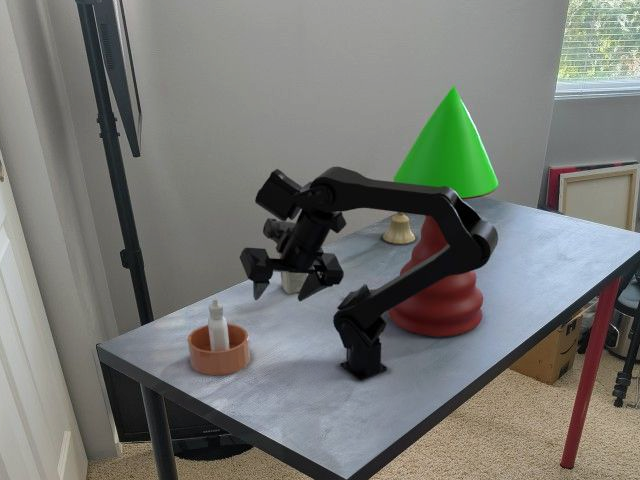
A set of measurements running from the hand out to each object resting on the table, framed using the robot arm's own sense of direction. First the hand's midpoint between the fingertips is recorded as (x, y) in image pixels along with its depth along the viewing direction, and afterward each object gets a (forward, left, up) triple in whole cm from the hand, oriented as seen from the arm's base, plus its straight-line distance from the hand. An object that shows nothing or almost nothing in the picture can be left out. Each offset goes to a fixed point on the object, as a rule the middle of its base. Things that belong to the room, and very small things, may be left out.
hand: (277, 299), depth 135 cm
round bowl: (+3, +11, -11) cm, 16 cm away
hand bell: (+29, -55, -11) cm, 63 cm away
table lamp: (-8, -34, -11) cm, 36 cm away
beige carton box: (+20, -17, -11) cm, 28 cm away
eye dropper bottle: (+3, +11, -10) cm, 15 cm away
